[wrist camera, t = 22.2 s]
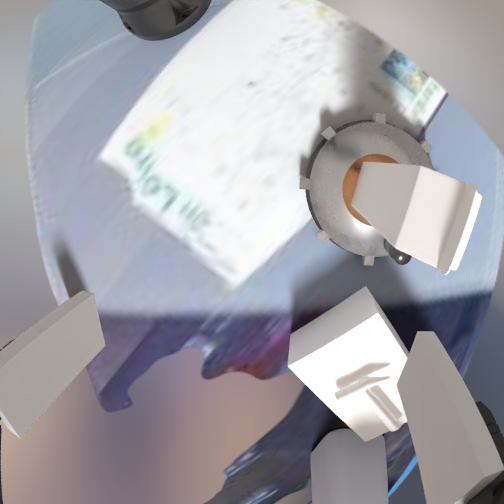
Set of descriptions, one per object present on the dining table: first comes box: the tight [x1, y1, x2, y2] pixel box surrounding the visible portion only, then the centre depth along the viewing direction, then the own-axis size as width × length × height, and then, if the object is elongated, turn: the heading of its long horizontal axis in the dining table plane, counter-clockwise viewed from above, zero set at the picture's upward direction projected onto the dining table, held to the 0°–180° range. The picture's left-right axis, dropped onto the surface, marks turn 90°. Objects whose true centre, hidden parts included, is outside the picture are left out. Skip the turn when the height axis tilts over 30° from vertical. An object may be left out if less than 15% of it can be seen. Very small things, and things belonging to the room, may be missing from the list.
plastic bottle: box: [311, 428, 388, 504], centre depth 41 cm, size 15×15×28 cm
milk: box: [351, 162, 482, 275], centre depth 24 cm, size 6×6×22 cm
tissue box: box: [288, 286, 409, 442], centre depth 41 cm, size 14×25×11 cm, turn 41°
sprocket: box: [300, 113, 434, 266], centre depth 33 cm, size 20×20×7 cm
